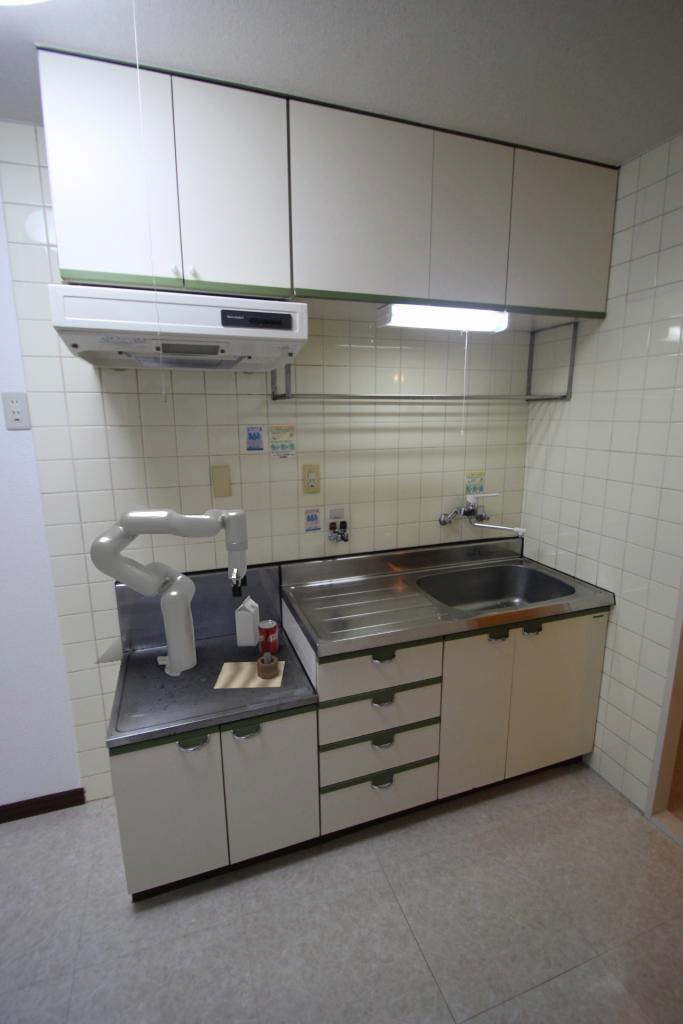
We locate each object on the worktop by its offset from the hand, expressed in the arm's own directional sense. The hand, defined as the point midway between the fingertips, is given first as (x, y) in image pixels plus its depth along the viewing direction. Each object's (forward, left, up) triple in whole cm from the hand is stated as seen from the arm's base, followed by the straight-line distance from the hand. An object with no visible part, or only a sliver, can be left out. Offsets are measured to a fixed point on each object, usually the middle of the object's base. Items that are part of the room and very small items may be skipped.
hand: (240, 591), depth 166 cm
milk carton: (-1, +15, -28) cm, 32 cm away
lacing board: (+4, -10, -28) cm, 30 cm away
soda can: (+8, +7, -28) cm, 30 cm away
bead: (+10, -10, -27) cm, 30 cm away
